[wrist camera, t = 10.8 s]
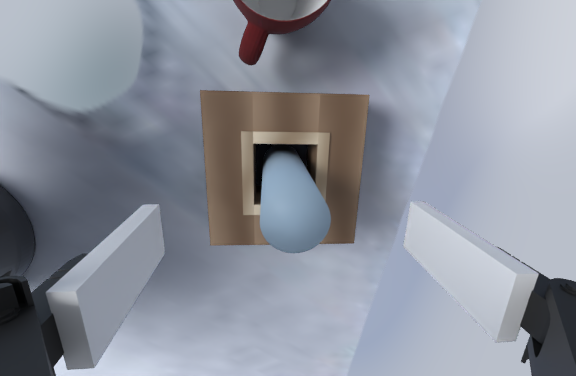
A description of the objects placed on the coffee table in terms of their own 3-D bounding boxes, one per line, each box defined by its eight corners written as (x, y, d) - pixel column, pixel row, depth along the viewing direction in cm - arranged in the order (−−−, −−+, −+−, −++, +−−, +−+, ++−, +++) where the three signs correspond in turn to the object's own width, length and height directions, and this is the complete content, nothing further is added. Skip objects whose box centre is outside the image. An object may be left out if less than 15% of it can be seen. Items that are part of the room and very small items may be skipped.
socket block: (220, 219, 32) (209, 246, 27) (213, 92, 28) (199, 90, 22) (339, 218, 34) (354, 244, 28) (349, 95, 29) (370, 94, 23)
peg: (263, 179, 31) (259, 253, 16) (263, 143, 30) (259, 187, 15) (298, 179, 32) (328, 252, 16) (300, 143, 30) (333, 187, 15)
